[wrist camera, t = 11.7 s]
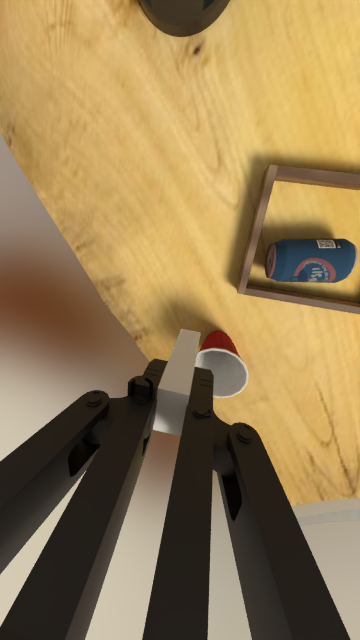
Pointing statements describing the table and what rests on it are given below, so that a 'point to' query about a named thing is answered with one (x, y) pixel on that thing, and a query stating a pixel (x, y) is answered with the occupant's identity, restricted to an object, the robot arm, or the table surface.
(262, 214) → the walnut tray frame
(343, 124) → the table surface
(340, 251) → the soda can
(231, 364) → the plastic cup
